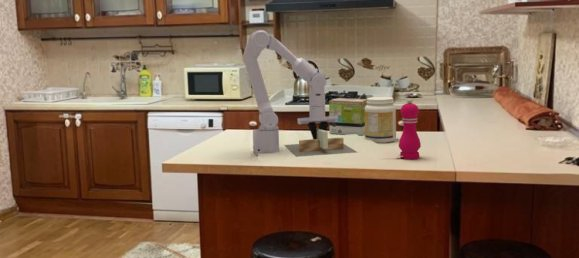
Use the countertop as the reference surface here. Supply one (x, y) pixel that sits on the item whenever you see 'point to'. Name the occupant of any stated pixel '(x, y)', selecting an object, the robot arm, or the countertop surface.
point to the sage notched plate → (322, 138)
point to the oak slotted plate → (314, 146)
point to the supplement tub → (380, 120)
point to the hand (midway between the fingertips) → (318, 142)
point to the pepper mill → (409, 132)
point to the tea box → (347, 116)
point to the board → (295, 150)
